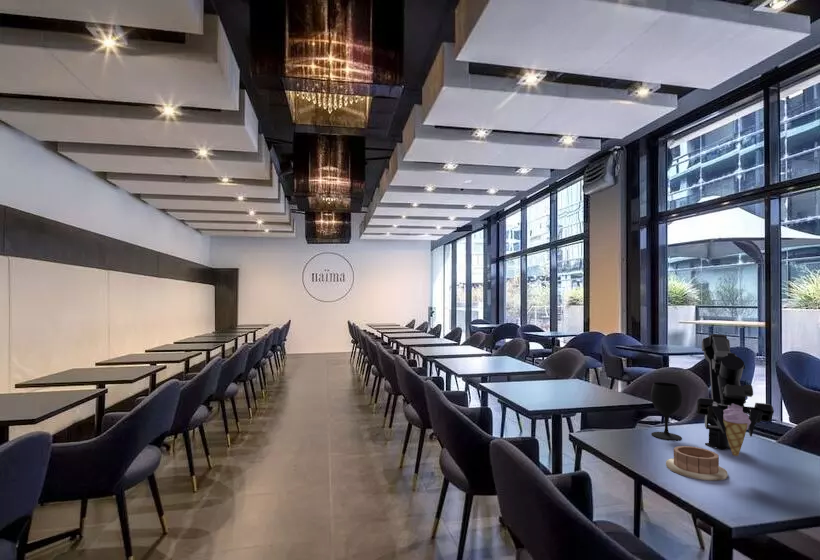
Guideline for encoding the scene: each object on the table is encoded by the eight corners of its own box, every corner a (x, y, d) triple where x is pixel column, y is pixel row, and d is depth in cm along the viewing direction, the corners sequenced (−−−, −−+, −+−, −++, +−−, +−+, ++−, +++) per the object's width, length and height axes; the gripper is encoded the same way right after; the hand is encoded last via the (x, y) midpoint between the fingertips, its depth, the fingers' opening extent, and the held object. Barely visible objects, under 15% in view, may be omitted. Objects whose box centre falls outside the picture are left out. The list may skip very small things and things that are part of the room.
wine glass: (678, 434, 178) (678, 383, 179) (685, 442, 168) (684, 387, 169) (649, 431, 181) (648, 381, 182) (653, 438, 171) (653, 385, 172)
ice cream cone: (744, 452, 136) (743, 402, 137) (755, 460, 130) (754, 407, 131) (719, 451, 138) (719, 401, 138) (729, 458, 132) (729, 406, 132)
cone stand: (690, 458, 150) (690, 441, 150) (740, 476, 135) (740, 458, 135) (654, 464, 145) (654, 446, 145) (701, 483, 130) (701, 464, 130)
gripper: (697, 371, 143) (702, 415, 132) (771, 376, 134) (782, 423, 124) (694, 392, 149) (699, 435, 139) (765, 398, 141) (775, 444, 131)
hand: (737, 434), depth 133 cm, fingers closed on ice cream cone, 6 cm apart
